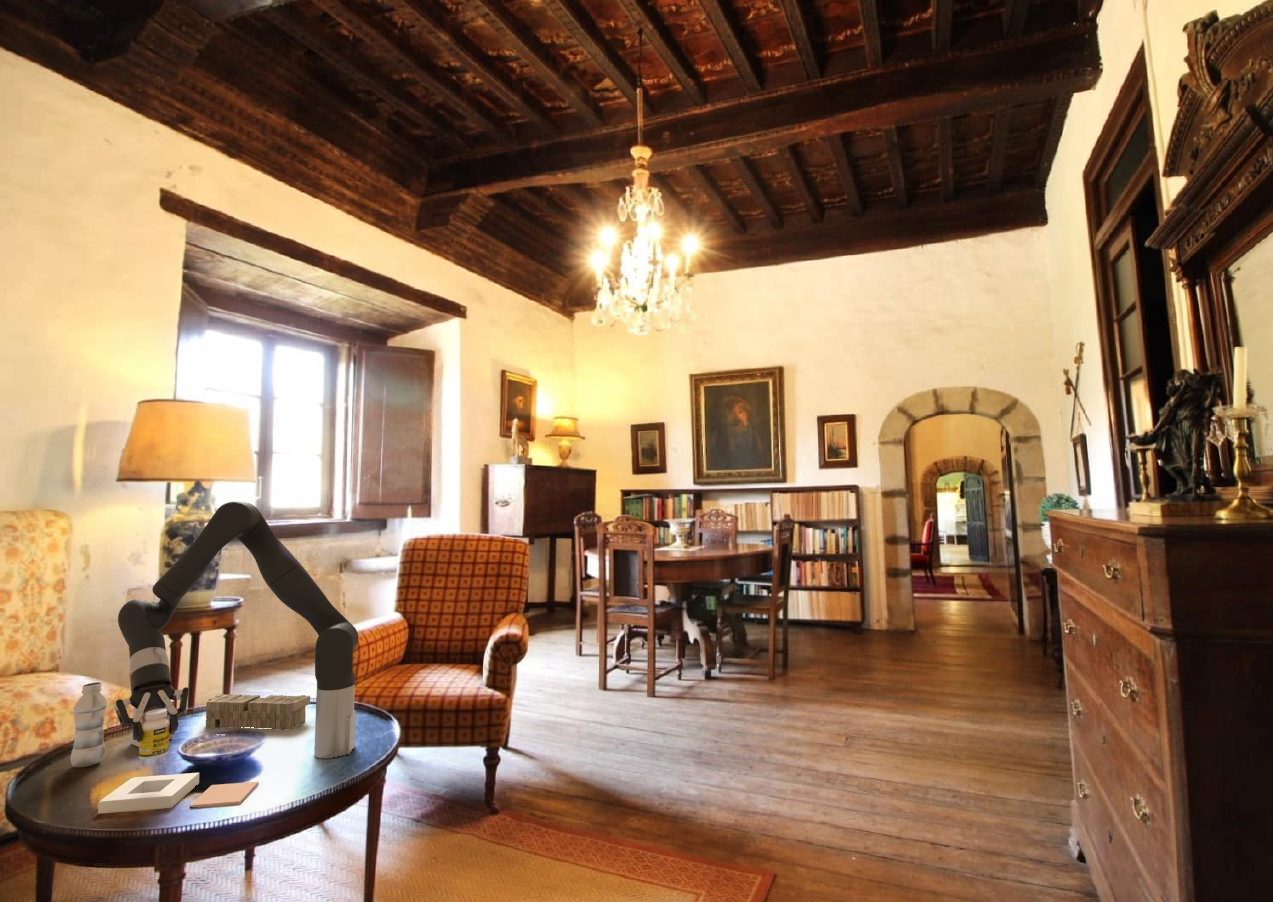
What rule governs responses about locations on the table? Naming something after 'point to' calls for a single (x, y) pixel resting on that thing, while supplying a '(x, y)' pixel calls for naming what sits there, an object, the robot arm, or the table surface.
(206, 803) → the terracotta tile
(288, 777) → the table surface
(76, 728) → the plastic bottle
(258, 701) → the block tower
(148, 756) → the supplement bottle
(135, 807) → the block
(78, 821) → the table surface
